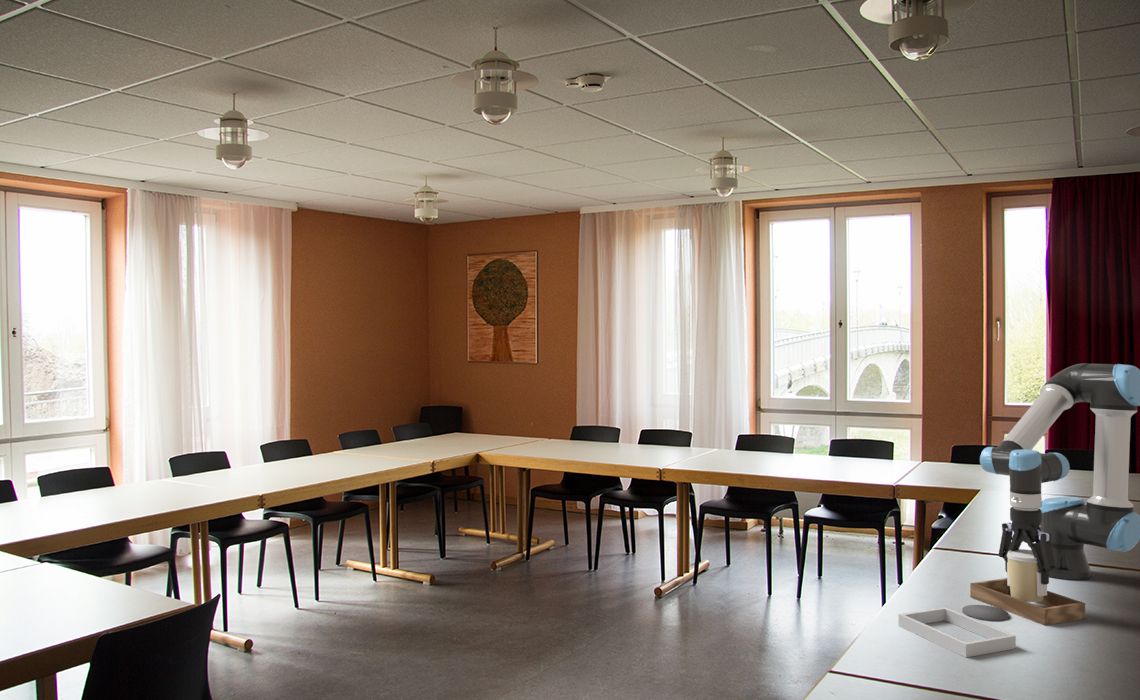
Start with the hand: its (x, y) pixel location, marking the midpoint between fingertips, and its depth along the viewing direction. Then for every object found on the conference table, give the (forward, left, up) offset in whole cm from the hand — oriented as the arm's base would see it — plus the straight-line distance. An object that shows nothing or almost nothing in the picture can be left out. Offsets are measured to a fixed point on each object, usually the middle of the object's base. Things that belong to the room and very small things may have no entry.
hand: (1026, 590), depth 226 cm
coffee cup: (0, 0, -2) cm, 2 cm away
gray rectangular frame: (+35, +10, -5) cm, 36 cm away
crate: (+1, 0, -5) cm, 5 cm away
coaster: (+15, 0, -5) cm, 15 cm away
